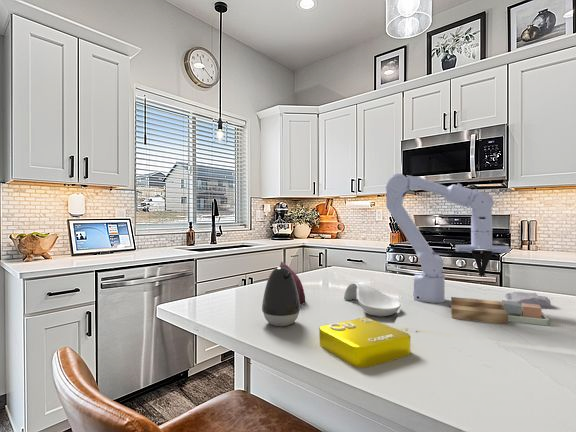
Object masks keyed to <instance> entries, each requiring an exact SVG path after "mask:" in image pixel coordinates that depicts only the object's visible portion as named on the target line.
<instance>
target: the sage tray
mask: <svg viewBox="0 0 576 432" xmlns="http://www.w3.org/2000/svg"><path fill="white" fill-rule="evenodd" d="M508 322H513V323H520V324H521V323H524V324H532V325H540V326H549V327H550V326H551V320H550V318H548V316H547V314H545V313H544V312H543V311H542V319H539V318H529V317H521V316H520V317H519V316H509V315H508Z"/></svg>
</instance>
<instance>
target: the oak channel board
mask: <svg viewBox="0 0 576 432" xmlns="http://www.w3.org/2000/svg"><path fill="white" fill-rule="evenodd" d="M450 299H451V300H450V303H451V304H450V309H451V311H450V313H451V314H450V315H451V319H458V320H467V321H477V322H485V323H491V324H493V323H494V324H495V323H496V324H501V325H502V324H503V325H509V321H508V313H507V312H506V310H500V309H501V302H502V300H501V301H499V300H491V299H490V300H489V299H477V298H468V297H467V298H466V297H455V296H454V297H453V296H451V298H450Z"/></svg>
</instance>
